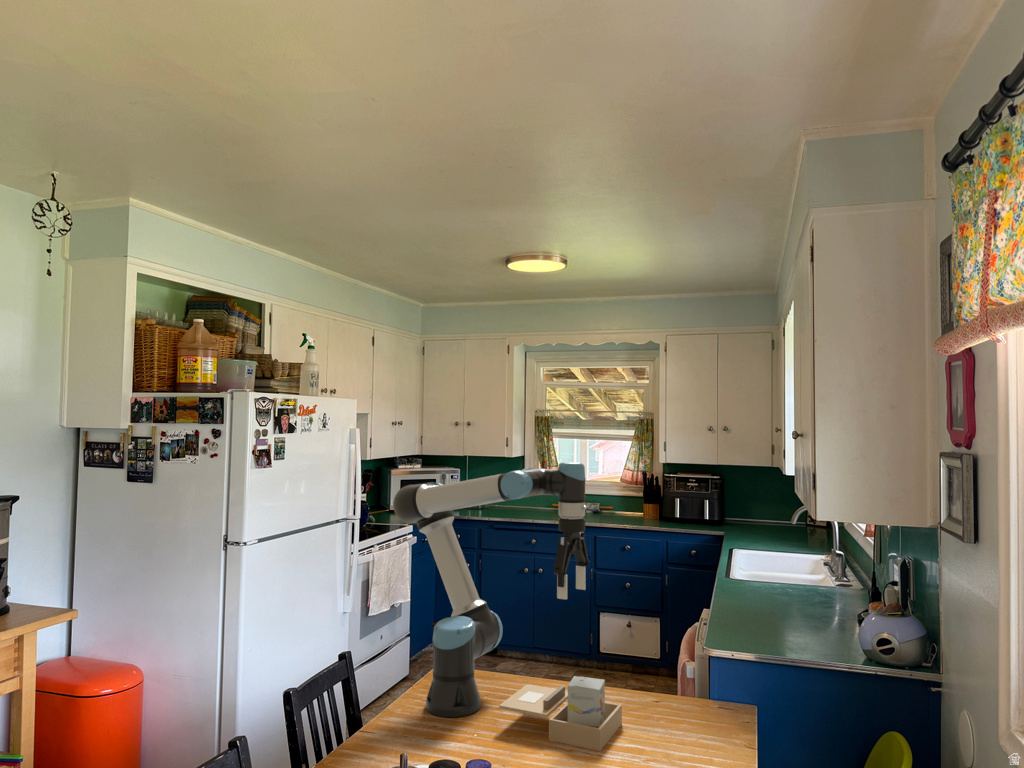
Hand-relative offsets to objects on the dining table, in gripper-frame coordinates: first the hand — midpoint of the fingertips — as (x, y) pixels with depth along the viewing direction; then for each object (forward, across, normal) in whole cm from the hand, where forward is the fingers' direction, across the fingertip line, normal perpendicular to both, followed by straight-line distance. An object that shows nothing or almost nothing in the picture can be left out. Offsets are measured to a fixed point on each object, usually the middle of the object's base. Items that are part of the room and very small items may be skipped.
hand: (571, 593), depth 195 cm
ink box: (+31, -12, -9) cm, 34 cm away
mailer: (+31, -12, -9) cm, 35 cm away
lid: (+26, -12, +5) cm, 29 cm away
